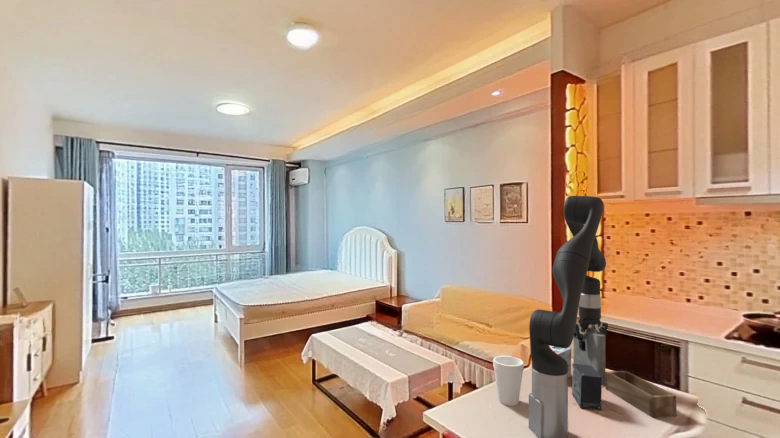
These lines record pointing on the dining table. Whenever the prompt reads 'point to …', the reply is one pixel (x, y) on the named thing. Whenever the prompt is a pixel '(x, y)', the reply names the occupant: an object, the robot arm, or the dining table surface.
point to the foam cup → (508, 378)
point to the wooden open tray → (641, 394)
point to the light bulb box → (564, 356)
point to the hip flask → (591, 352)
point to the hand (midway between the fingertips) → (589, 349)
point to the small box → (586, 386)
